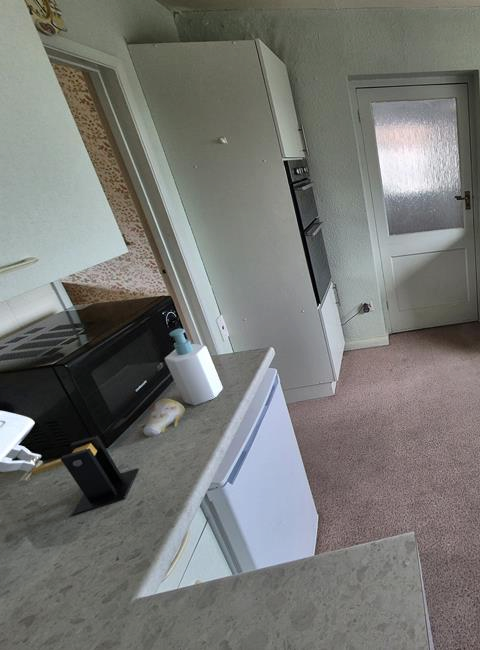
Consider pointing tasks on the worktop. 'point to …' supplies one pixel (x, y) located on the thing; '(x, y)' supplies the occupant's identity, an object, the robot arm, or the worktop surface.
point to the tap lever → (49, 465)
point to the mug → (163, 416)
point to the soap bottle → (193, 370)
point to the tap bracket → (97, 476)
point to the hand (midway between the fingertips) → (36, 463)
